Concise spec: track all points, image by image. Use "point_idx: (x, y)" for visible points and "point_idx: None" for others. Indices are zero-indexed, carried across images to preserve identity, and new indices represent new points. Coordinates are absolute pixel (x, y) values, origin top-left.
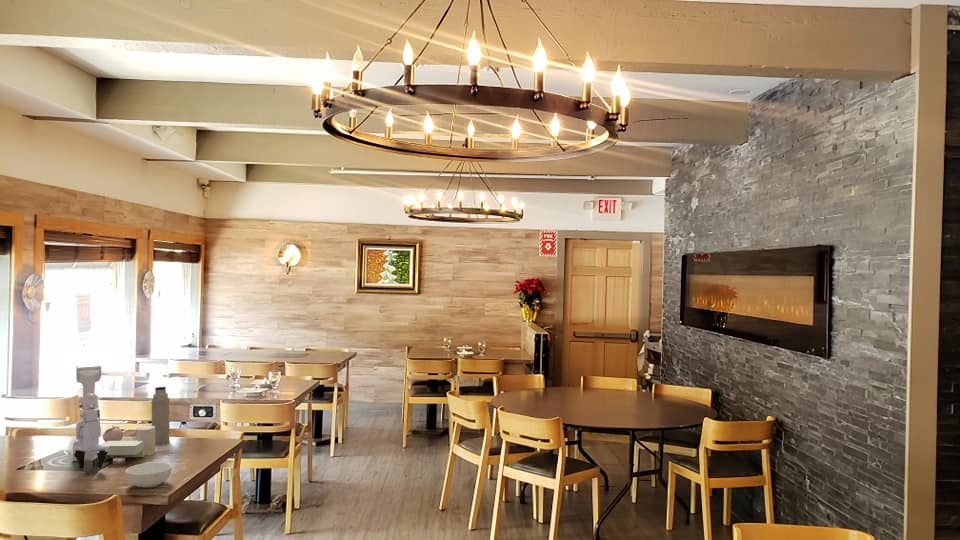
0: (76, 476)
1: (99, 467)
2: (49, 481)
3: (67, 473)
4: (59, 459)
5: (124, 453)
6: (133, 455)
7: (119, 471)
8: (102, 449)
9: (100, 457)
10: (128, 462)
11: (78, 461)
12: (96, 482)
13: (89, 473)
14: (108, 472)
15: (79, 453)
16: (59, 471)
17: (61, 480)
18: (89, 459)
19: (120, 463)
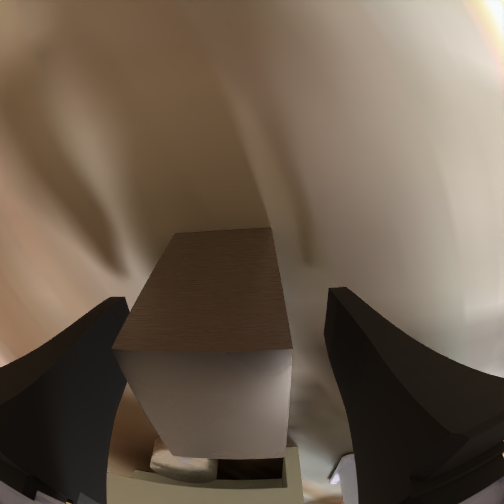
0: (317, 144)
1: (105, 302)
2: (469, 23)
3: (439, 254)
4: None
5: (143, 487)
6: (171, 484)
7: (30, 307)
8: (9, 500)
9: (5, 374)
10: (135, 442)
11: (401, 339)
12: (18, 14)
13: (208, 235)
14: (73, 287)
15: (442, 467)
16: (487, 298)
17: (395, 17)
18: (207, 389)
19: (159, 438)
